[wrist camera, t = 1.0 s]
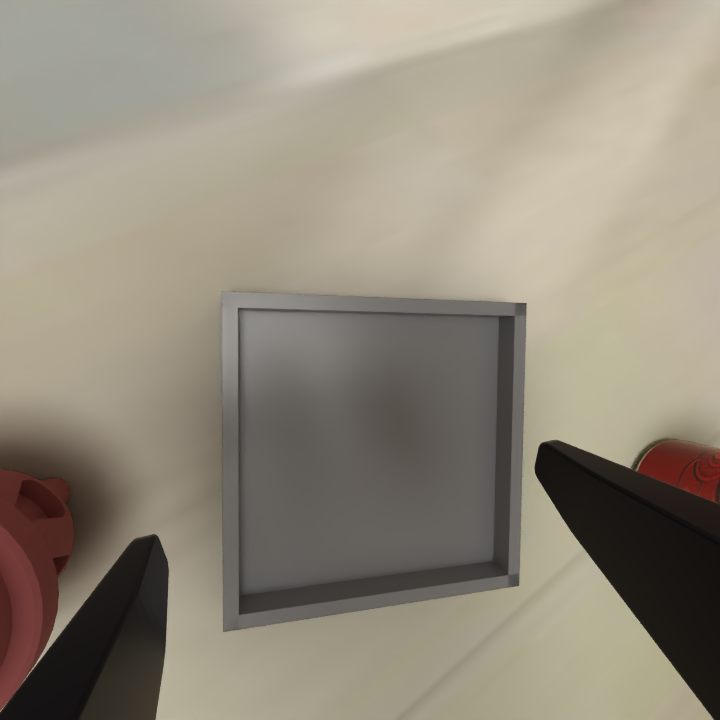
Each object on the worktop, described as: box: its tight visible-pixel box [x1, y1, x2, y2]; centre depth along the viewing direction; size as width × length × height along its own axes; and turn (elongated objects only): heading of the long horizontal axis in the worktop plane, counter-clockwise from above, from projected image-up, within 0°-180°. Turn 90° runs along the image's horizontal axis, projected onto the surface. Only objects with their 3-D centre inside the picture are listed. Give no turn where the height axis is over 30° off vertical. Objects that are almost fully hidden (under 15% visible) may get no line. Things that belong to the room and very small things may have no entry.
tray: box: [221, 291, 527, 632], centre depth 24 cm, size 18×18×2 cm
